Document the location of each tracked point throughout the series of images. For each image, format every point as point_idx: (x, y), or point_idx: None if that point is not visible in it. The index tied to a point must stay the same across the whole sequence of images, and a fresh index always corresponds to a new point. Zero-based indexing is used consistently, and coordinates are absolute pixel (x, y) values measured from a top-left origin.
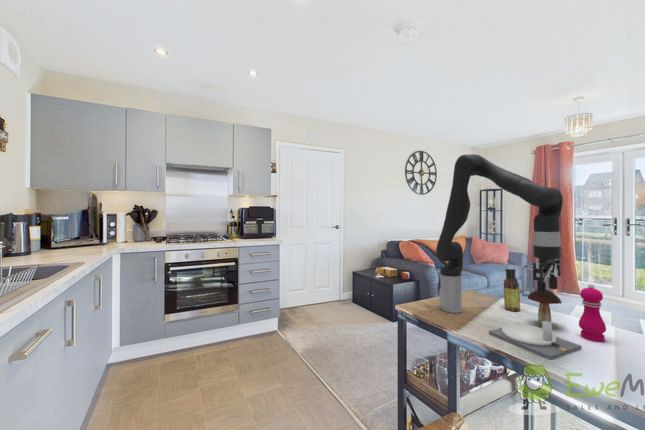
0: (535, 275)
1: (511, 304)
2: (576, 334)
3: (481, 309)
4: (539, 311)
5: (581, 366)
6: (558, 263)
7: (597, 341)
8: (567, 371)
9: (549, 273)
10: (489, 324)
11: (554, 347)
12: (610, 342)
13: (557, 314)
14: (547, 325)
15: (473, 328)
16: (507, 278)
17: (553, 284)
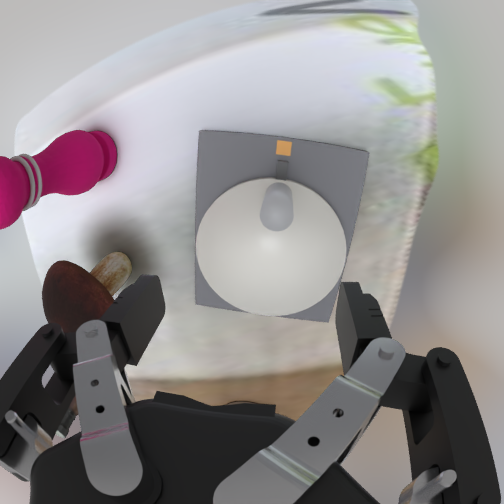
0: (428, 422)
1: None
2: (107, 187)
3: (175, 384)
4: (114, 292)
5: (333, 88)
6: (2, 421)
7: (109, 136)
8: (396, 104)
9: (327, 408)
10: (255, 343)
11: (291, 168)
12: (88, 121)
13: (41, 271)
14: (291, 206)
15: (321, 350)
16: (76, 413)
17: (147, 309)
